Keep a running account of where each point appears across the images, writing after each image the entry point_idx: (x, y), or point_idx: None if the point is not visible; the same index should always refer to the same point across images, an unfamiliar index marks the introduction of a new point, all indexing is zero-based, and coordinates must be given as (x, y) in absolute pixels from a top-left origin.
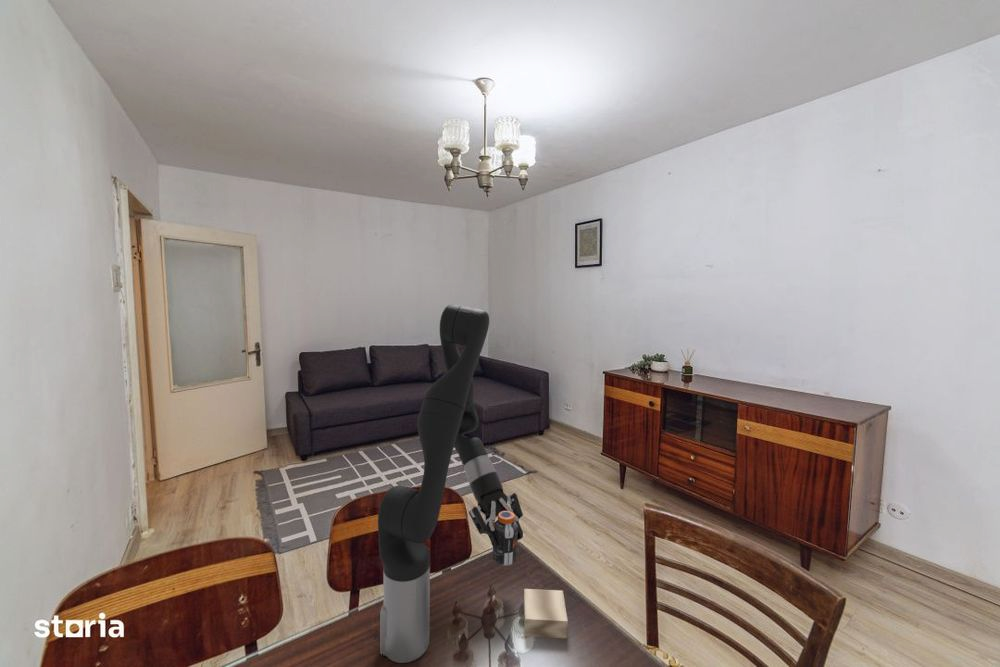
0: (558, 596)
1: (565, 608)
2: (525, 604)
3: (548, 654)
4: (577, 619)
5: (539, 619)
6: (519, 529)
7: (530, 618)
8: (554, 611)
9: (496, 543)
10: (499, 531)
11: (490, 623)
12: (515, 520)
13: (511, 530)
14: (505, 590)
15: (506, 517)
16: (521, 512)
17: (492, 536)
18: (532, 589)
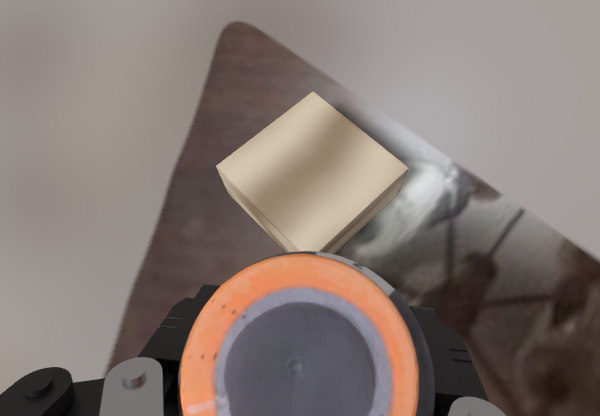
0: (250, 158)
1: (277, 119)
2: (363, 206)
3: (385, 126)
4: (239, 141)
5: (372, 141)
6: (193, 313)
7: (392, 159)
8: (312, 132)
9: (447, 337)
10: (426, 342)
11: (452, 295)
12: (160, 369)
13: (336, 257)
14: None
15: (346, 314)
16: (11, 395)
17: (478, 383)
18: (288, 237)
